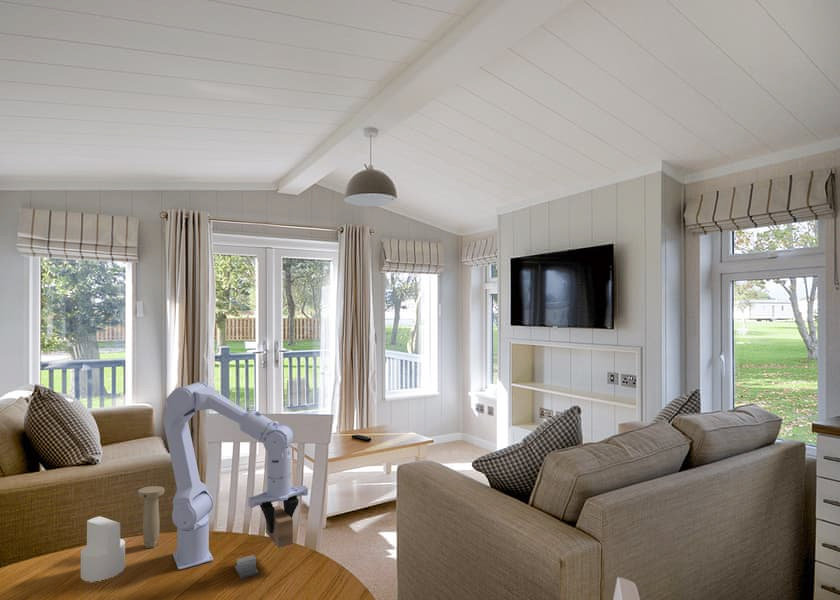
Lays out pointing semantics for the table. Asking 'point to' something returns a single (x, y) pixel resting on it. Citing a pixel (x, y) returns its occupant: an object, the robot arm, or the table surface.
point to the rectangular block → (281, 528)
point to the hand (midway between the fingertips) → (278, 529)
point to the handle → (151, 514)
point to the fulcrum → (246, 566)
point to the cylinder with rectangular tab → (102, 550)
